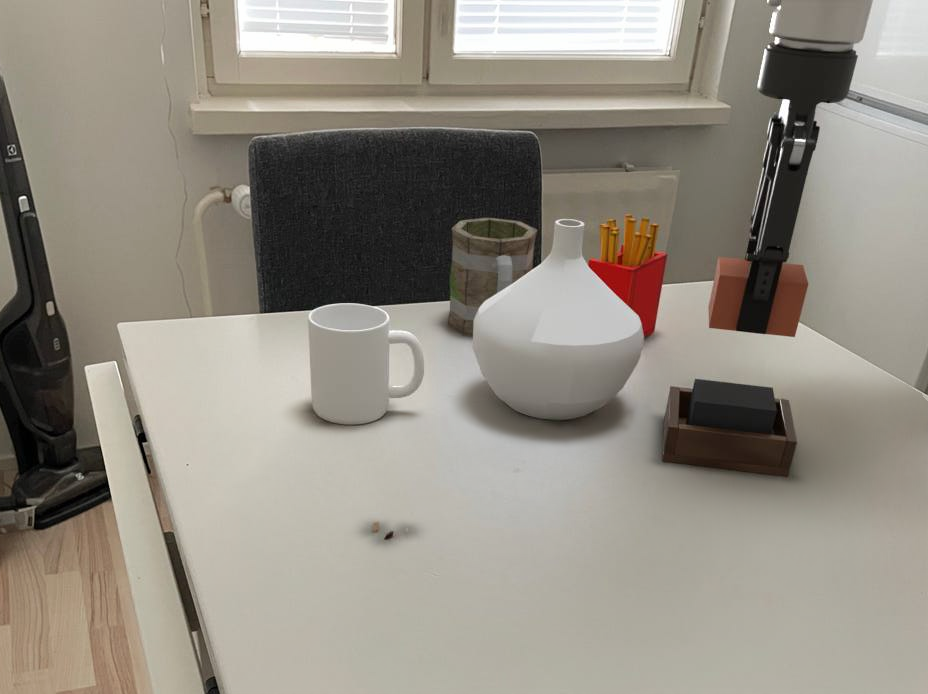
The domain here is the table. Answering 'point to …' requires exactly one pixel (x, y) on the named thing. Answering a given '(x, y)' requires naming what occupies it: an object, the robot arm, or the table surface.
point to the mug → (485, 264)
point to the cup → (355, 362)
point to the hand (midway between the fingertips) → (749, 319)
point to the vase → (557, 336)
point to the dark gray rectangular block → (732, 406)
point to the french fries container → (632, 268)
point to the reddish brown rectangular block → (731, 292)
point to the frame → (727, 440)
